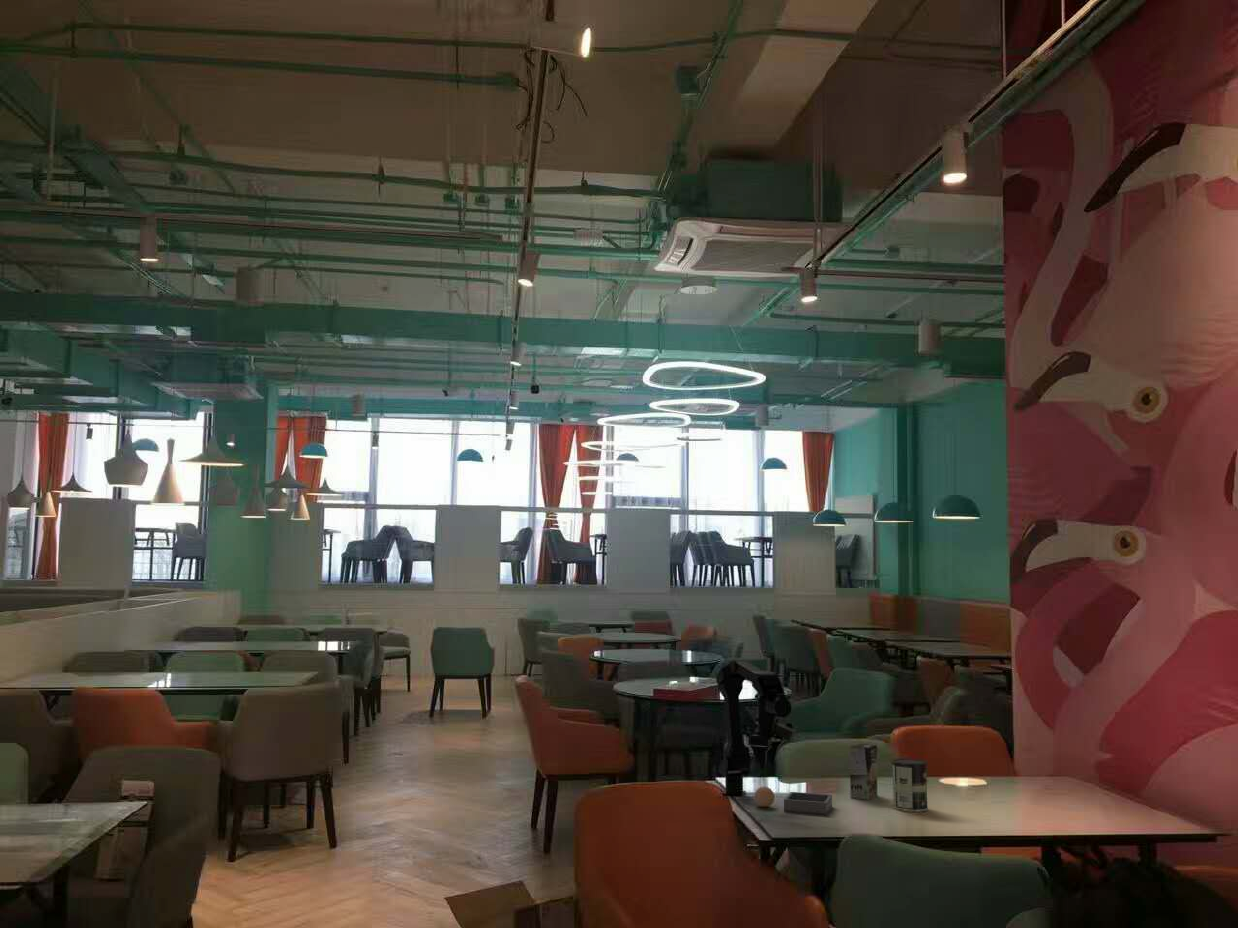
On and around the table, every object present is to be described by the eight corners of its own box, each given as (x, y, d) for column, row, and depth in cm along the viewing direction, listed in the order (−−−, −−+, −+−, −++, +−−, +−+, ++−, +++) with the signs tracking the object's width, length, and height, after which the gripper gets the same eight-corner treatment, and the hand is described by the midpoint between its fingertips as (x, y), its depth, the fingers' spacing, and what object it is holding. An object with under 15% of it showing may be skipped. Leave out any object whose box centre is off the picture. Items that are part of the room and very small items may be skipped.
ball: (756, 804, 311) (756, 784, 312) (776, 805, 309) (775, 785, 310) (752, 808, 306) (752, 787, 306) (772, 809, 304) (772, 789, 304)
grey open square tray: (791, 803, 313) (790, 791, 313) (832, 806, 309) (831, 794, 309) (783, 811, 301) (783, 799, 302) (826, 814, 297) (826, 802, 298)
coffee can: (926, 805, 312) (924, 759, 314) (929, 812, 302) (928, 764, 304) (891, 804, 314) (890, 757, 316) (893, 811, 304) (892, 762, 306)
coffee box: (869, 800, 319) (868, 748, 321) (850, 797, 323) (849, 746, 325) (878, 795, 327) (877, 744, 329) (858, 793, 330) (858, 742, 332)
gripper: (783, 718, 297) (784, 772, 295) (801, 712, 314) (802, 764, 312) (747, 716, 302) (748, 770, 300) (766, 711, 319) (767, 762, 317)
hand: (767, 766), depth 307 cm, fingers open, 9 cm apart
